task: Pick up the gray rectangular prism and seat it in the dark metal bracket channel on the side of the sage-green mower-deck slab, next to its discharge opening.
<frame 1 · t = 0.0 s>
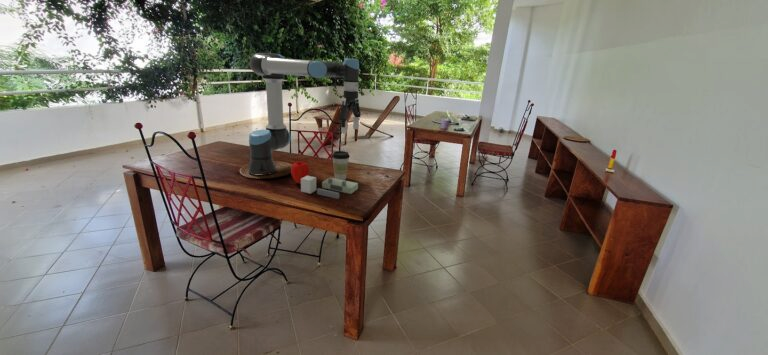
hand: (350, 131, 177), 28 cm above the table, fingers open, 13 cm apart
apple: (300, 183, 178), on the table
gray rectangular prism: (308, 190, 168), on the table
deck: (338, 189, 172), on the table
coffee cup: (340, 178, 188), on the table
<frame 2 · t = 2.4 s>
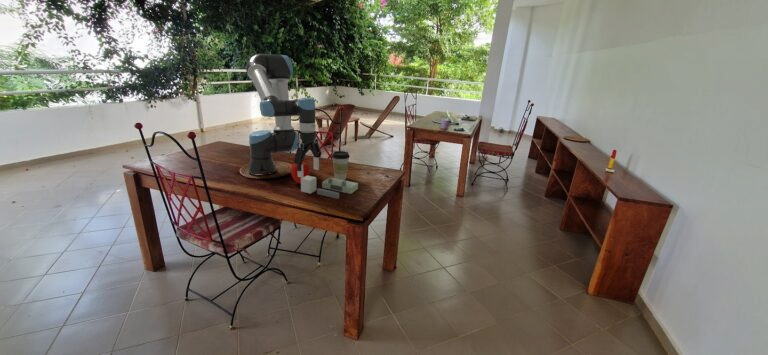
hand: (308, 173, 165), 10 cm above the table, fingers open, 13 cm apart
nothing on the table moved.
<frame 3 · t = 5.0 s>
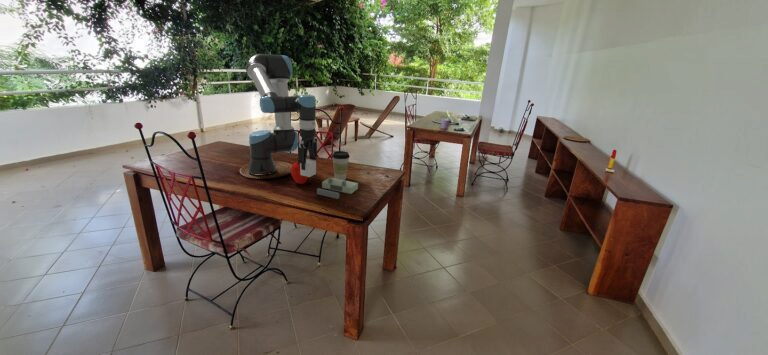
hand: (308, 173, 166), 9 cm above the table, fingers closed on gray rectangular prism, 5 cm apart
gray rectangular prism: (308, 174, 166), point 9 cm above the table, touching gripper
everything else where it was.
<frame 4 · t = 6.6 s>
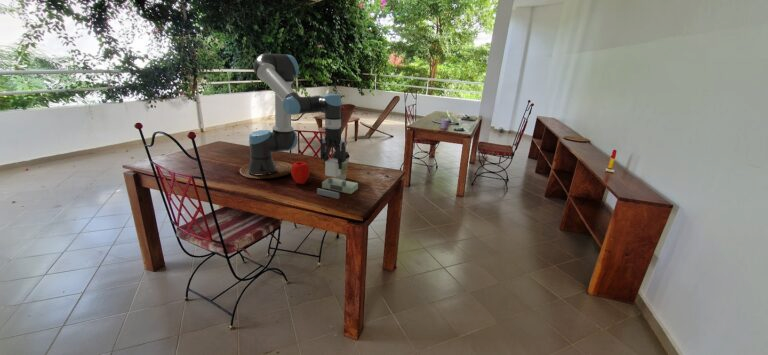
hand: (333, 173, 163), 10 cm above the table, fingers closed on gray rectangular prism, 5 cm apart
gray rectangular prism: (332, 174, 163), point 10 cm above the table, touching gripper
everything else where it was.
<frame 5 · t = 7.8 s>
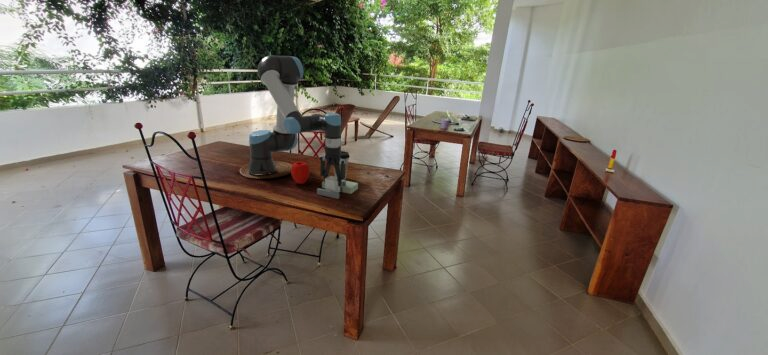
hand: (332, 190, 167), 1 cm above the table, fingers closed on gray rectangular prism, 5 cm apart
gray rectangular prism: (332, 191, 167), point 1 cm above the table, touching gripper
everything else where it was.
when the fingers open (0 cm above the table, at t = 8.4 s): gray rectangular prism stays where it is, on the table.
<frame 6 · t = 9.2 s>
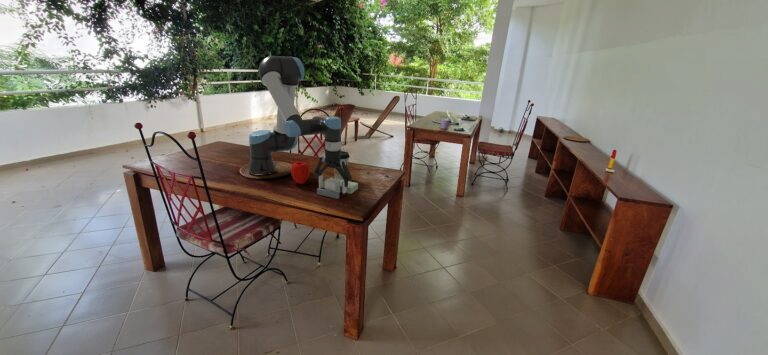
hand: (332, 190, 167), 2 cm above the table, fingers open, 13 cm apart
gray rectangular prism: (332, 193, 167), on the table
everything else where it was.
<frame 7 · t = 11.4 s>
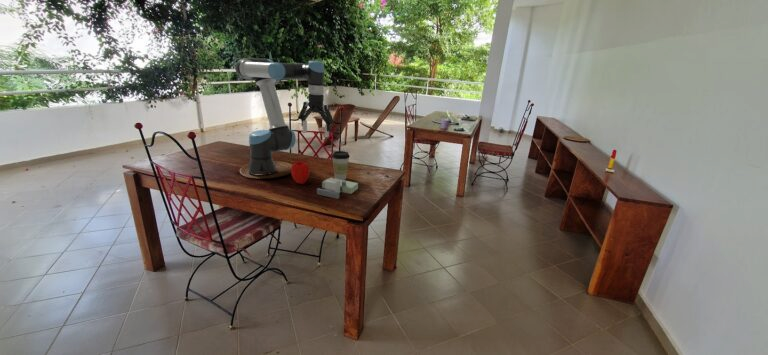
hand: (315, 135, 173), 26 cm above the table, fingers open, 13 cm apart
nothing on the table moved.
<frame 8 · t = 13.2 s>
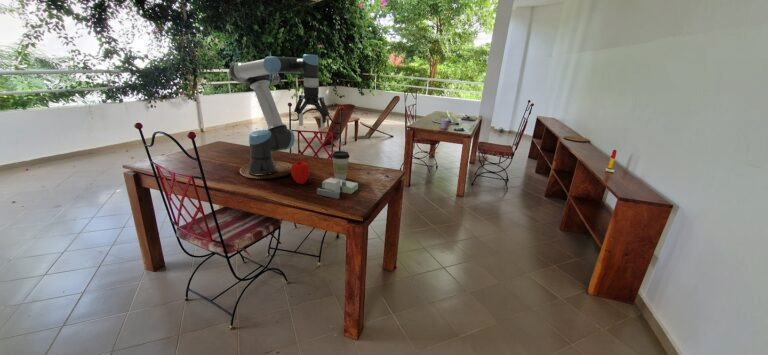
hand: (311, 127, 176), 29 cm above the table, fingers open, 13 cm apart
nothing on the table moved.
at the end: gray rectangular prism inside the target area (0.2 cm from its centre), on the table; gray rectangular prism tilted 0°; the gripper is holding nothing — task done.
